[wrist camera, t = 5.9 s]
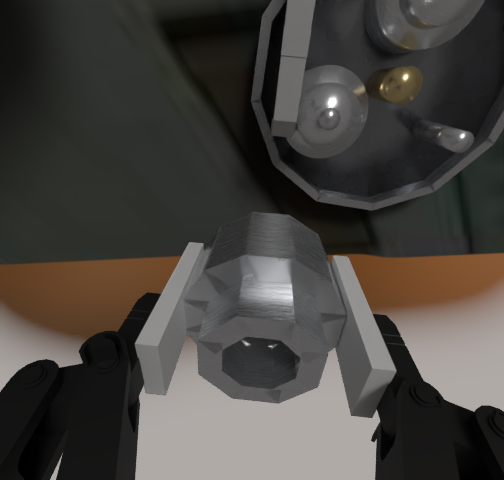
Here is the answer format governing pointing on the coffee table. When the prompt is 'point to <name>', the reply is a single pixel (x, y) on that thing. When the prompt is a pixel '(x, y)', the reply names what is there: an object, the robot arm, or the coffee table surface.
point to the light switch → (292, 65)
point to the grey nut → (263, 308)
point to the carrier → (385, 96)
